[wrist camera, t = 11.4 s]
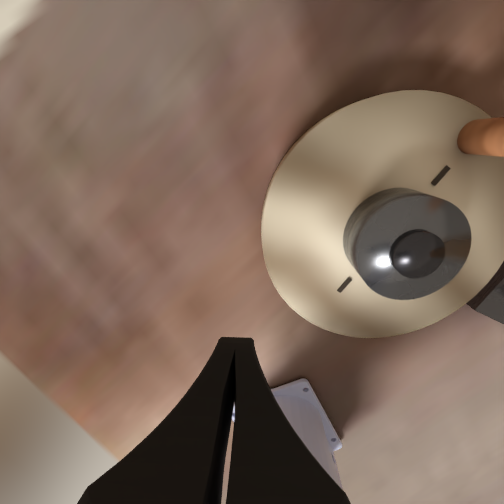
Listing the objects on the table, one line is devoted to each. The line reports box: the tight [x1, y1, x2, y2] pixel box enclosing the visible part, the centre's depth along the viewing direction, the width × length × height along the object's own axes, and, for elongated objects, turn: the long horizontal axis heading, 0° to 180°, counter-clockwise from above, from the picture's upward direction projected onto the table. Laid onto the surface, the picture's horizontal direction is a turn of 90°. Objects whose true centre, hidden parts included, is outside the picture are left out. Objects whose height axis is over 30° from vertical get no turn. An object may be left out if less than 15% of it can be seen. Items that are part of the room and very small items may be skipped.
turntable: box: [261, 90, 504, 338], centre depth 17 cm, size 16×16×6 cm
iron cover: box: [343, 188, 472, 300], centre depth 17 cm, size 6×6×3 cm
